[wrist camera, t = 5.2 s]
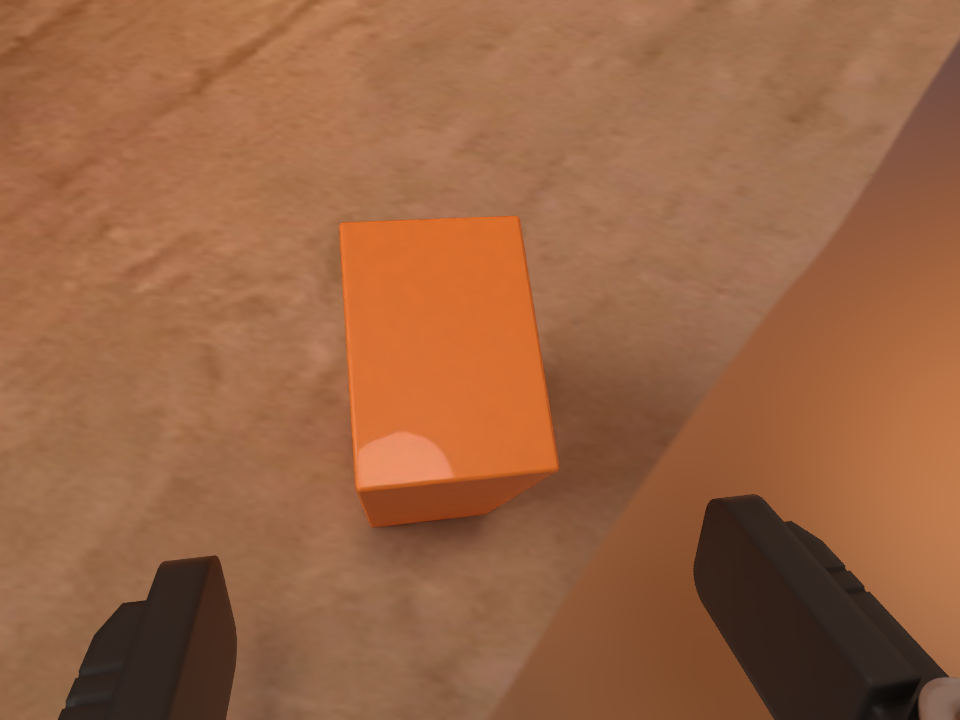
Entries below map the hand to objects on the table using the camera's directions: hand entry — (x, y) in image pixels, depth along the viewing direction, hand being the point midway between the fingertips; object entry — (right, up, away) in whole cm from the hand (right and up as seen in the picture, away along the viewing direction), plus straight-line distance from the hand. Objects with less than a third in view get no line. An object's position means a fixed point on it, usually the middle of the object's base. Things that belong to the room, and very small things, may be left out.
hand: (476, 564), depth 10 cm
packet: (-2, +1, +10) cm, 10 cm away
